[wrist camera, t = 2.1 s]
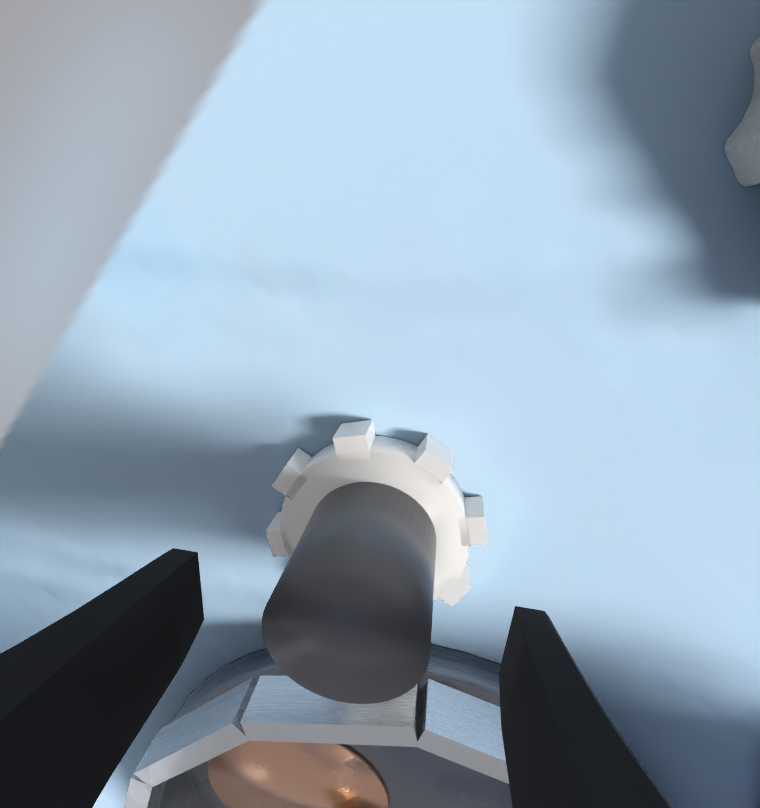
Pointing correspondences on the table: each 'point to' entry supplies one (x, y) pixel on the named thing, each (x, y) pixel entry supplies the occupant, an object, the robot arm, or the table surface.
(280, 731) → the bowl
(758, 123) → the egg carton
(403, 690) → the gear
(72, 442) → the table surface
